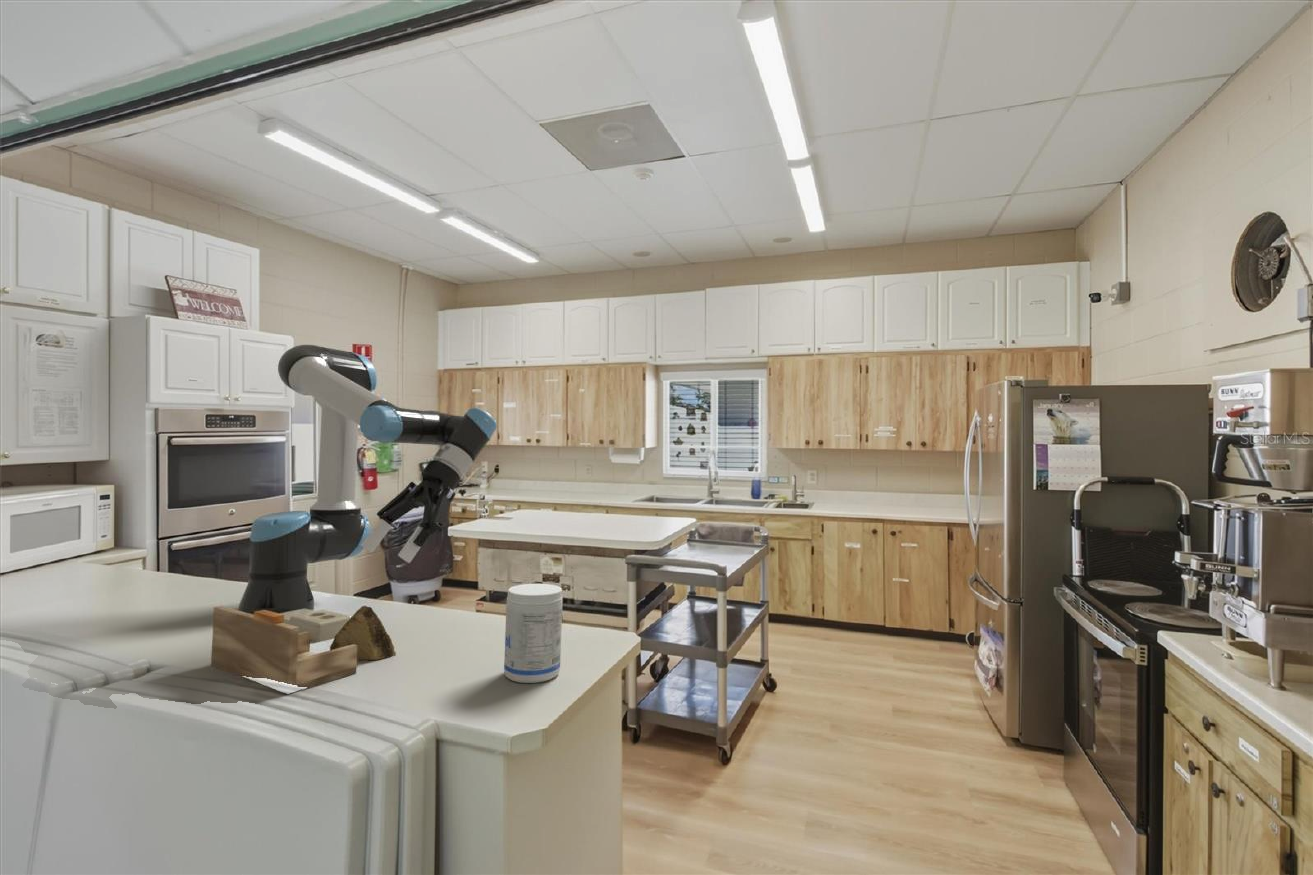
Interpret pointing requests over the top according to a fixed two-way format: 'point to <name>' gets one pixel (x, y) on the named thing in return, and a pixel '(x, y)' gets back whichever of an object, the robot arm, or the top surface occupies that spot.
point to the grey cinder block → (316, 622)
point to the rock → (365, 636)
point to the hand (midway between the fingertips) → (384, 554)
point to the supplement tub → (533, 632)
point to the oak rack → (274, 650)
